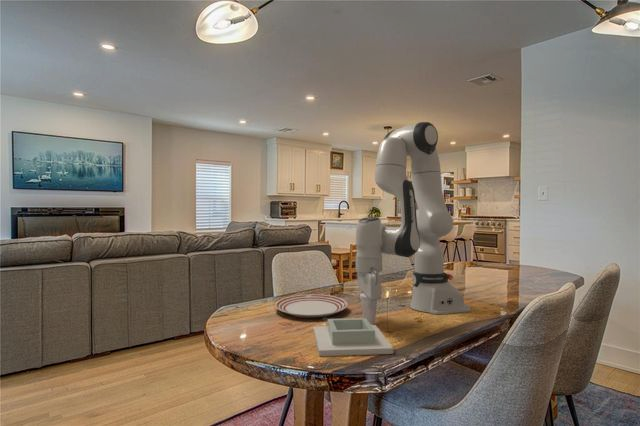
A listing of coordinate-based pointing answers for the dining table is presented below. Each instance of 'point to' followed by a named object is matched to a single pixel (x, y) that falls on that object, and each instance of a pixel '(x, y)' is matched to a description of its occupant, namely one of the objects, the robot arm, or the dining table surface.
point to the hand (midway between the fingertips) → (369, 306)
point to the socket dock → (350, 338)
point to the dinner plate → (311, 305)
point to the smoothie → (366, 311)
